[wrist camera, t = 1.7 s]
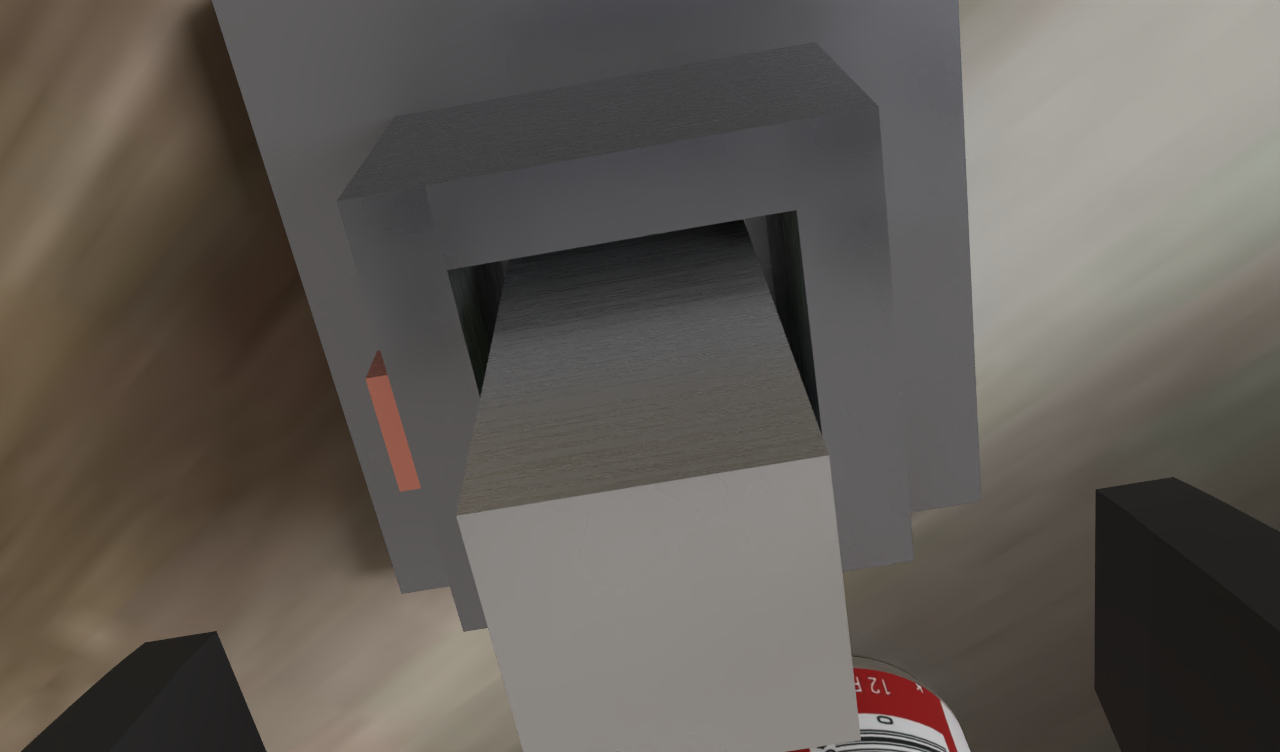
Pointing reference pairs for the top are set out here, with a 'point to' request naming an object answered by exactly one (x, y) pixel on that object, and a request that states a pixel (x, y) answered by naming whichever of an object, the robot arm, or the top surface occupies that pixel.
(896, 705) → the soda can
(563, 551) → the light grey rectangular block
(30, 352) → the top surface
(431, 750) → the top surface
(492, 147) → the grey square socket base
